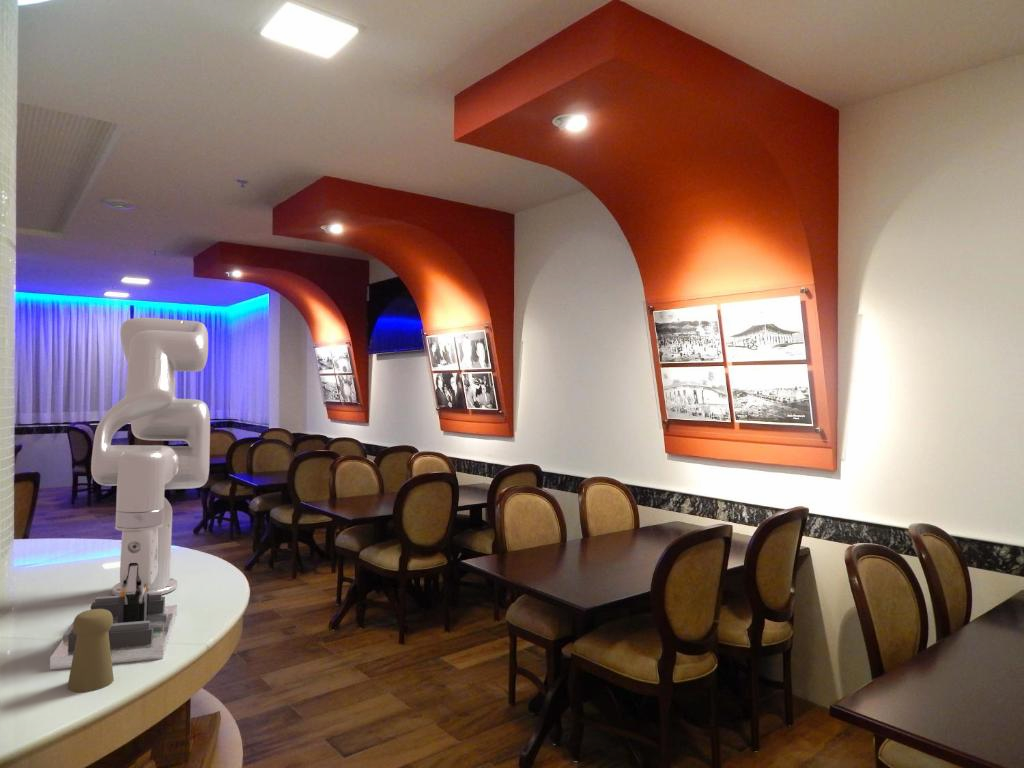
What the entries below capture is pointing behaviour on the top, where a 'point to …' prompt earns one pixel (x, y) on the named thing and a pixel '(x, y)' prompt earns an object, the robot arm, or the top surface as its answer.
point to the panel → (126, 653)
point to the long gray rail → (126, 623)
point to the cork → (91, 652)
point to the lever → (122, 601)
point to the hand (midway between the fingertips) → (135, 619)
